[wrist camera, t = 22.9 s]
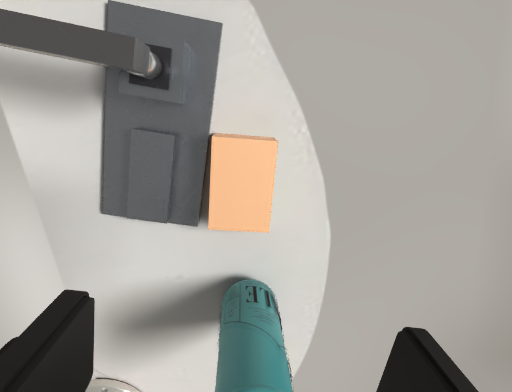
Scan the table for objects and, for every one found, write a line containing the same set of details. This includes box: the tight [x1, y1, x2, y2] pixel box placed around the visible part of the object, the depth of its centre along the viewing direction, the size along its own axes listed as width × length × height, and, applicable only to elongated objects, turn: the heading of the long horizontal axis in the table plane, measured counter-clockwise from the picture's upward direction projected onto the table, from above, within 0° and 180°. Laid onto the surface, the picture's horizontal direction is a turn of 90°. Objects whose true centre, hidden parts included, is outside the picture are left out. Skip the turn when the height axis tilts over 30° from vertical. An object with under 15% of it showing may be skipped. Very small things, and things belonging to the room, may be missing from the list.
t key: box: [0, 9, 162, 79], centre depth 20 cm, size 11×2×6 cm, turn 79°
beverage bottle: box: [215, 280, 293, 392], centre depth 26 cm, size 6×7×20 cm
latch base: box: [102, 0, 223, 227], centre depth 27 cm, size 20×10×4 cm, turn 170°
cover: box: [208, 133, 278, 233], centre depth 30 cm, size 9×6×4 cm, turn 175°
